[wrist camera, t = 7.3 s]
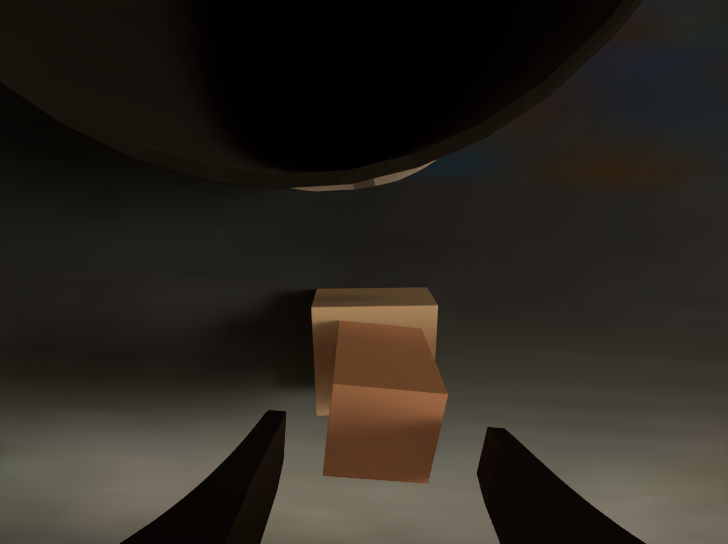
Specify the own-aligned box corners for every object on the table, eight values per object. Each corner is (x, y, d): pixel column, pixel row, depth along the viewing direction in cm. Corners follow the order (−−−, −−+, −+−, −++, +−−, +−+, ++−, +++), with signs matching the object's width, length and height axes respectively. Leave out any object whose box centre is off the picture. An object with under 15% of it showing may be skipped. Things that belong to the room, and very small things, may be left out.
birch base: (421, 380, 21) (431, 412, 19) (321, 382, 21) (316, 415, 18) (425, 285, 20) (437, 305, 17) (317, 287, 20) (311, 307, 17)
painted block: (408, 399, 18) (427, 483, 14) (331, 392, 18) (322, 475, 13) (422, 329, 17) (448, 394, 12) (339, 320, 17) (333, 383, 12)
